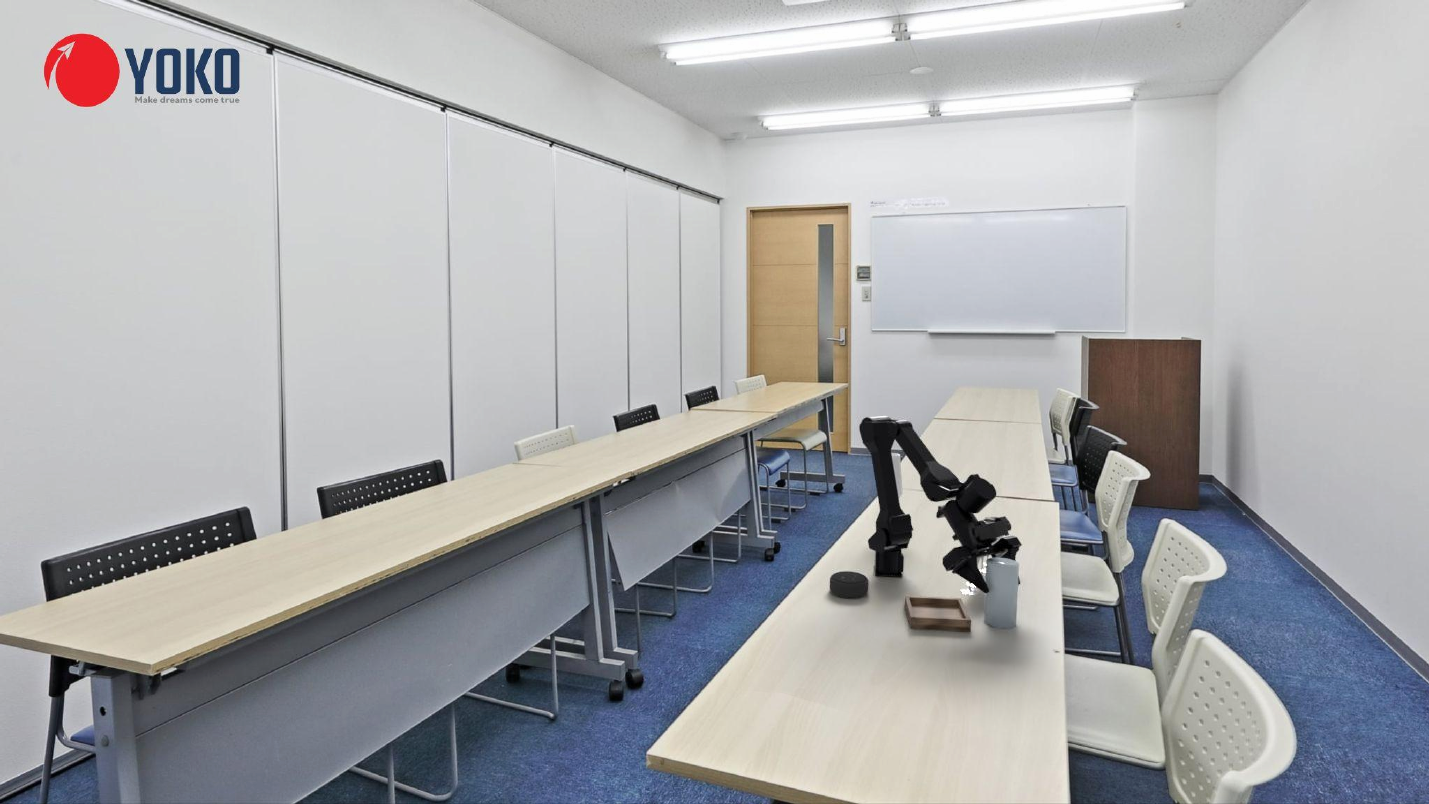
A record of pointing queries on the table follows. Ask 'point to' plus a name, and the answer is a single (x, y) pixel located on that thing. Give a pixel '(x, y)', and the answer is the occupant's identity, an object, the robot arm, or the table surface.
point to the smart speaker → (849, 584)
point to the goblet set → (983, 570)
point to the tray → (937, 613)
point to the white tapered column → (897, 472)
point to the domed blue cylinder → (1001, 592)
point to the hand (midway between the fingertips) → (1003, 588)
